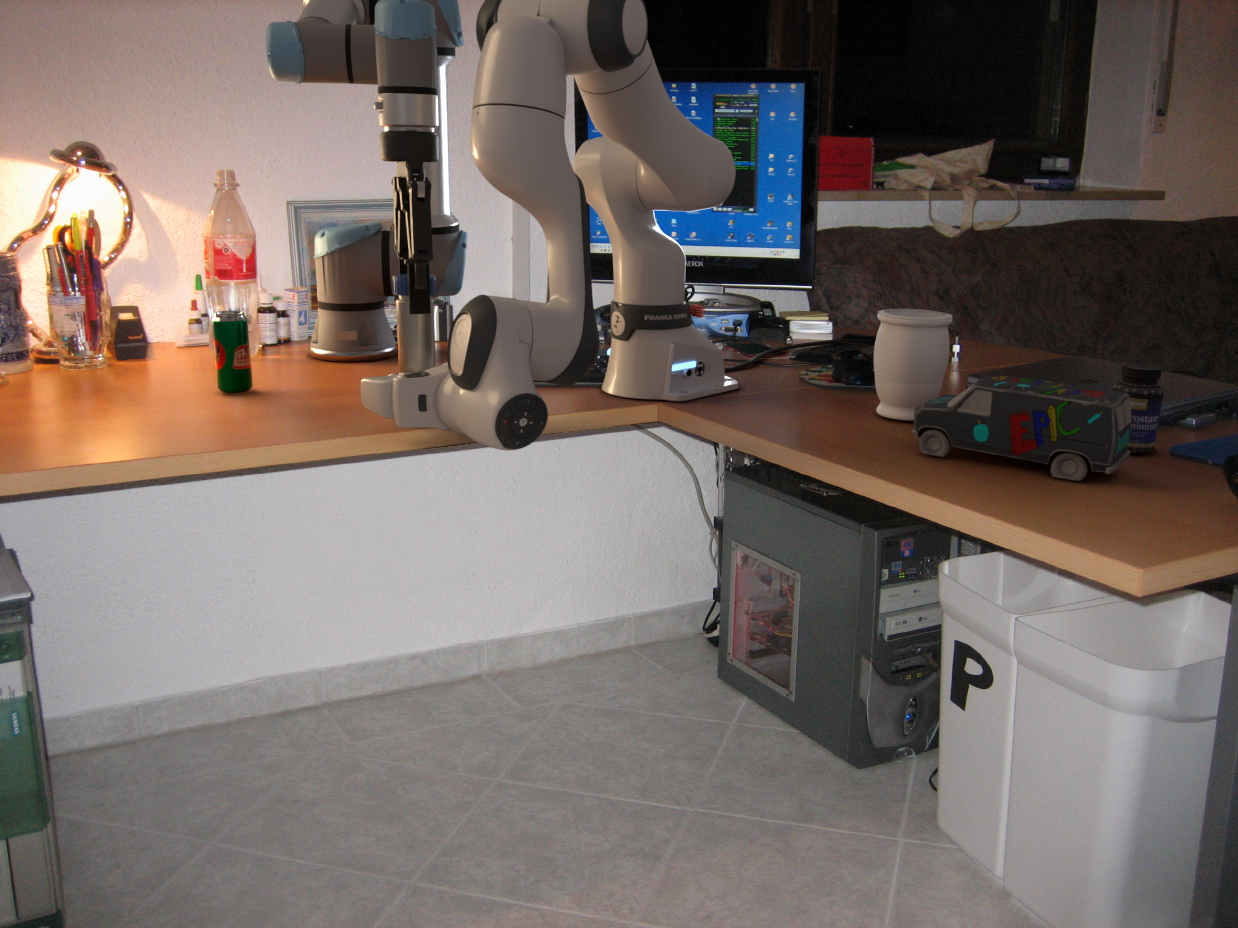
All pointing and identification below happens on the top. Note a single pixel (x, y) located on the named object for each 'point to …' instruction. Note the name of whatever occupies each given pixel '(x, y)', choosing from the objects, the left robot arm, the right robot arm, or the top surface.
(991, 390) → the toy van
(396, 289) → the lid
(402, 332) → the metal bottle
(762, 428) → the top surface
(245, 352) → the soda can
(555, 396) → the top surface
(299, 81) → the left robot arm
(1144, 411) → the pill bottle
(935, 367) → the jar
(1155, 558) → the top surface
